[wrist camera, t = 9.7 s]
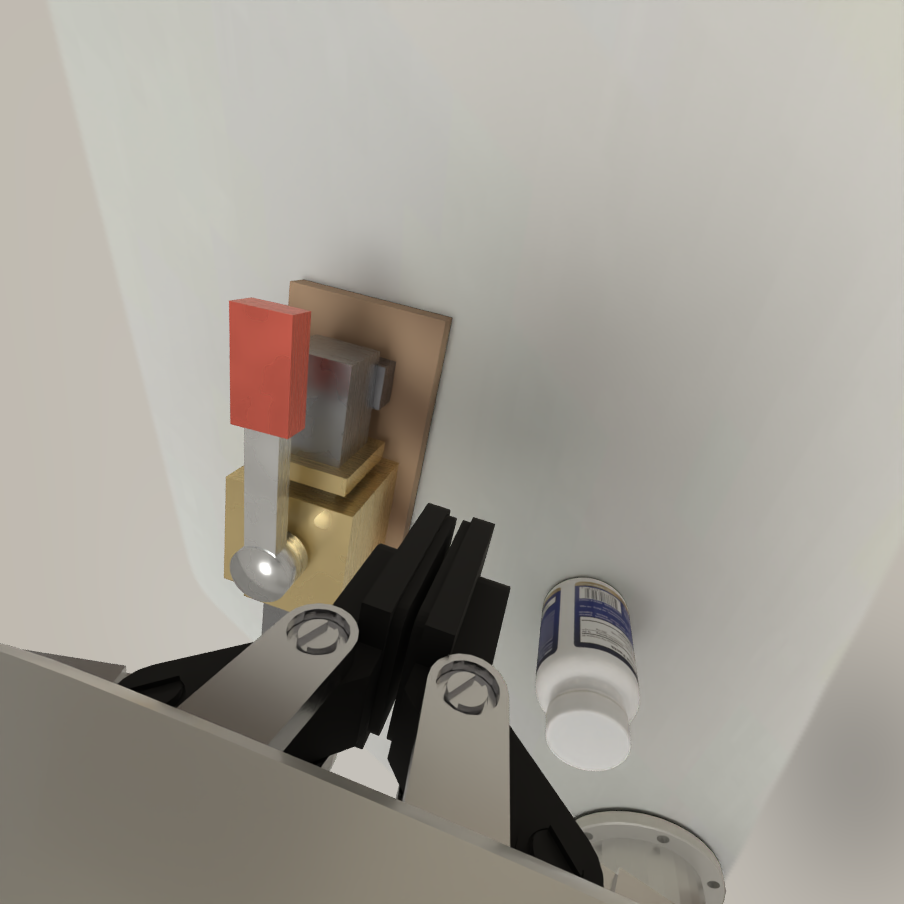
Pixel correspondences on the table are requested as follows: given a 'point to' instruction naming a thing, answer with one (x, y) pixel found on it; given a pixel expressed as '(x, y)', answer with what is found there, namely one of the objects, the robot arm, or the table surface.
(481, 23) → the table surface
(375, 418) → the mount board
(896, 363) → the table surface
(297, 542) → the lever
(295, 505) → the valve
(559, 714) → the pill bottle
